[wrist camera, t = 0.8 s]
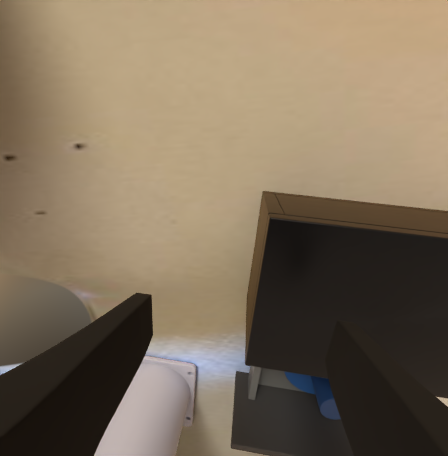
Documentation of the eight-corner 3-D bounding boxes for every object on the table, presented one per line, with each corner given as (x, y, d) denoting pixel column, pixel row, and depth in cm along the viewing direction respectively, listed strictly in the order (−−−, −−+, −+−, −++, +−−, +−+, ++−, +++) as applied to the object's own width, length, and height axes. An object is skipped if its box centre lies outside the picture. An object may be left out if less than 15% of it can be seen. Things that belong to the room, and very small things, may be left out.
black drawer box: (415, 322, 19) (492, 406, 13) (246, 298, 20) (245, 365, 14) (468, 213, 16) (604, 256, 10) (262, 191, 17) (269, 217, 11)
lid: (348, 394, 21) (368, 445, 17) (277, 383, 21) (282, 429, 18) (371, 341, 18) (398, 386, 15) (290, 328, 19) (299, 370, 15)
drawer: (373, 418, 23) (412, 506, 17) (232, 393, 24) (227, 469, 18) (420, 322, 19) (491, 398, 13) (247, 298, 20) (245, 358, 14)
